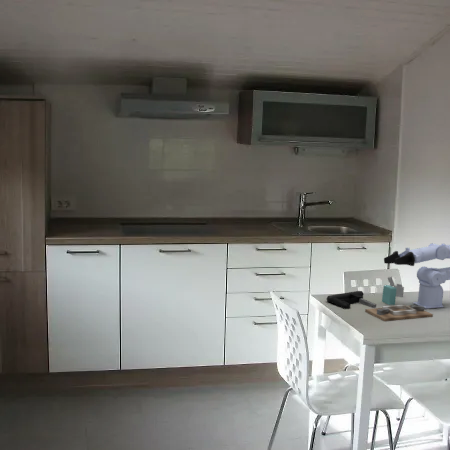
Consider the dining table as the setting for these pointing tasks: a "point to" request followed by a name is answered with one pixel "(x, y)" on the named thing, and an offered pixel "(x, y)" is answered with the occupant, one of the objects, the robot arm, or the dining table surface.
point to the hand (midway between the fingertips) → (389, 261)
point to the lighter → (399, 287)
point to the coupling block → (389, 294)
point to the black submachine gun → (349, 299)
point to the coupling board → (399, 312)
